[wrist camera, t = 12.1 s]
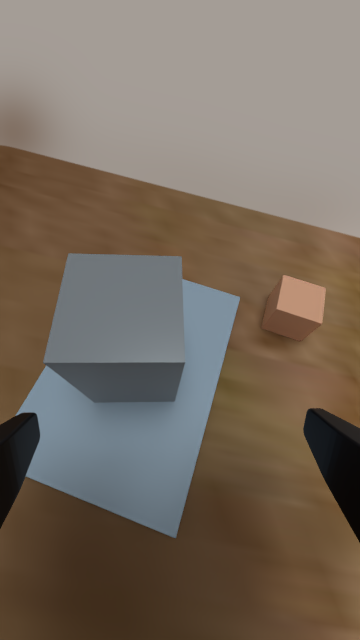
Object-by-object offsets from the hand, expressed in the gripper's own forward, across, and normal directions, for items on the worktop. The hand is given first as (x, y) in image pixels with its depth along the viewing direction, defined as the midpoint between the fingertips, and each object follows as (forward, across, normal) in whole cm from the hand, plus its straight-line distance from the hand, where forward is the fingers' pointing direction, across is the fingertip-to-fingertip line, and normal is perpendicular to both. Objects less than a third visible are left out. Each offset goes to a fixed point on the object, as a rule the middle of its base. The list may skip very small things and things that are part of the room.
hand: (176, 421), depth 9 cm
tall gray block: (+13, +3, +4) cm, 14 cm away
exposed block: (+18, -12, +2) cm, 21 cm away
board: (+14, +3, +5) cm, 15 cm away
